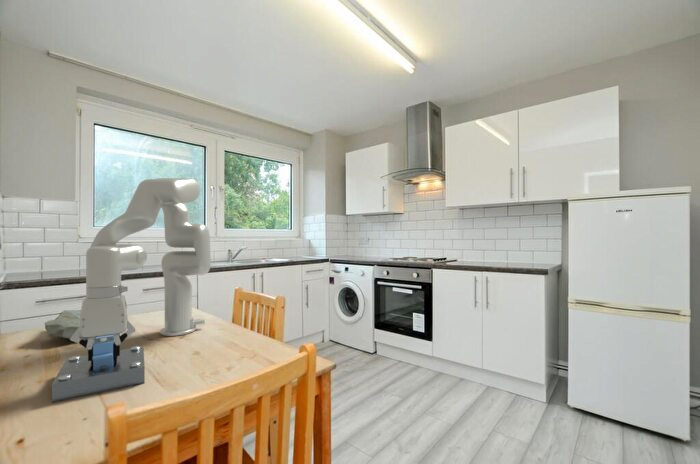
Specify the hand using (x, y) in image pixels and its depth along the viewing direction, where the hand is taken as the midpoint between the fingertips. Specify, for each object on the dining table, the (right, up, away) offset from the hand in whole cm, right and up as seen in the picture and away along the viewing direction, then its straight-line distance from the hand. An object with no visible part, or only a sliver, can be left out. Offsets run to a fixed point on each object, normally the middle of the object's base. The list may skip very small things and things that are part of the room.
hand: (104, 360), depth 88 cm
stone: (-38, -5, +38) cm, 54 cm away
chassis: (0, -5, 0) cm, 5 cm away
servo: (0, -2, 0) cm, 2 cm away
